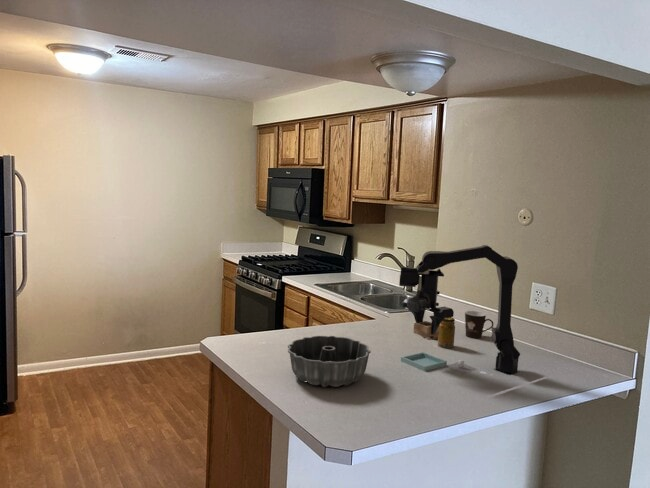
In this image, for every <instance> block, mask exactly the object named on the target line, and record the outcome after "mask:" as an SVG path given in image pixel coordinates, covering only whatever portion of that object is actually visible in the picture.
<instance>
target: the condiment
mask: <svg viewBox="0 0 650 488" xmlns="http://www.w3.org/2000/svg"><path fill="white" fill-rule="evenodd" d="M455 323H456V322H455V318H454V317H449V318H444V319H443V321H442V322H441V323H440V325H439V335H438V340H437V345H433V346H432V347H433V348H441V349H448V350H449V349H453V348H454V347H455V346H454V345H455V335H456V333H455V332H456V326H455Z"/></svg>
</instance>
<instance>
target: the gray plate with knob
mask: <svg viewBox="0 0 650 488" xmlns="http://www.w3.org/2000/svg"><path fill="white" fill-rule="evenodd" d="M444 367H446V368H449V369H450V370H454V371H456V372H457V373H458V372H459V373H460V374H465V373H469V372H473V371H476V370H478V368H476V367H473V366H471V365H468V364H465V361H464V360H463V359H458V362H455V363H451V364H447V365H446V366H444Z"/></svg>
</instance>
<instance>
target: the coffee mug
mask: <svg viewBox="0 0 650 488" xmlns="http://www.w3.org/2000/svg"><path fill="white" fill-rule="evenodd" d="M486 317H487V314H486V313H485V312H482V311H476V310H466V311H464V319H465V320H464V321H465V324H464V325H465V326H464V327H465V337H467V338H470V339H476V340H477V339H482V336H483V333H484V332H486V331H489V330H492V327H494V321H493V320H492V319H491V318H486ZM487 321H489V322H490V323H491V326H490V327H489V328H486V329H484V327H485V323H486V322H487Z"/></svg>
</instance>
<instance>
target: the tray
mask: <svg viewBox="0 0 650 488" xmlns="http://www.w3.org/2000/svg"><path fill="white" fill-rule="evenodd" d="M400 362H401V363H404V364H406V365H409V366H411V367H413V368H416V369H418V370H420V371H422V372H427V371H431V370H434V369H439V368H442V367H445V366H446V365H448V364H447V363H448V361H447V360H444V359H442V358H440V357H437V356H434V355H431V354H429V353H427V352H423V351H421V352H417V353H413V354H412V353H411V354H409V355H403V356H401V357H400Z"/></svg>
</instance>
